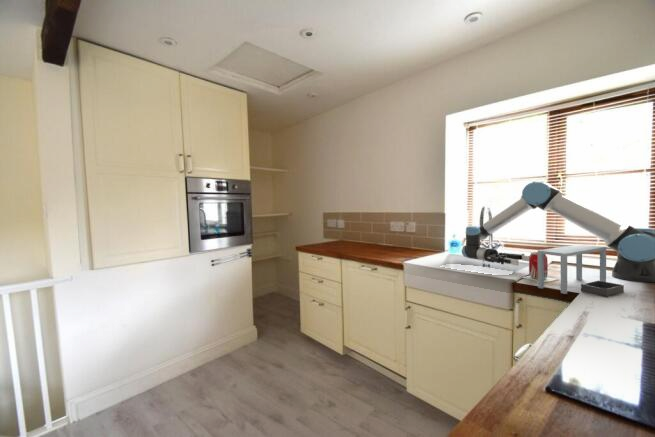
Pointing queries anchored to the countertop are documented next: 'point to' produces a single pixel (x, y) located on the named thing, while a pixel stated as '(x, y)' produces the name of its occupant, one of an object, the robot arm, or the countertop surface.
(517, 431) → the countertop surface
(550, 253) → the bridge
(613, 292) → the tray
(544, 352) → the countertop surface
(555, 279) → the mat
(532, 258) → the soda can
